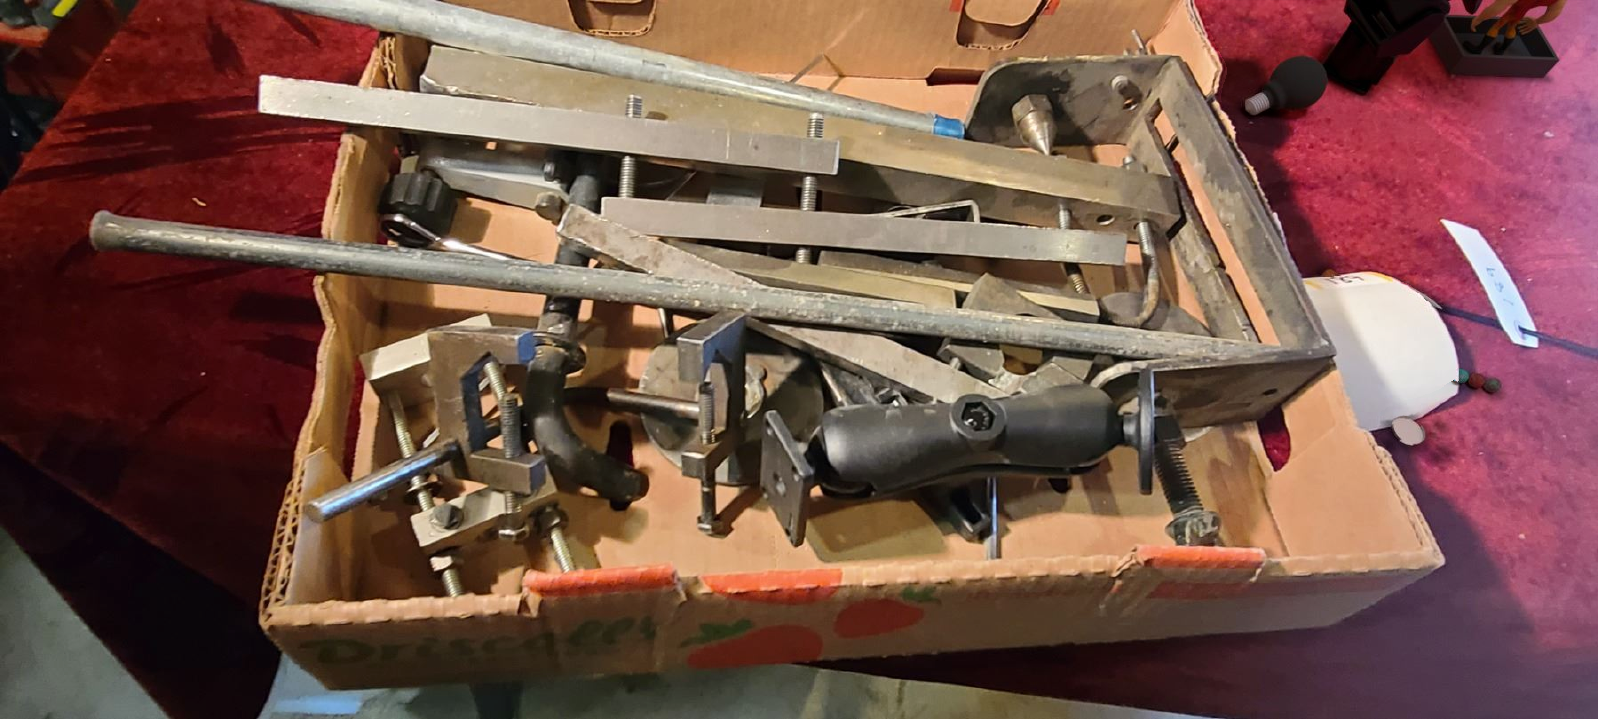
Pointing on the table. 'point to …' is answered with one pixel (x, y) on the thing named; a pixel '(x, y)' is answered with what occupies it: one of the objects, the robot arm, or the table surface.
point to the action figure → (1512, 21)
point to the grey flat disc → (1407, 431)
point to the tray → (1492, 49)
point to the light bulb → (1291, 86)
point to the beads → (1479, 381)
